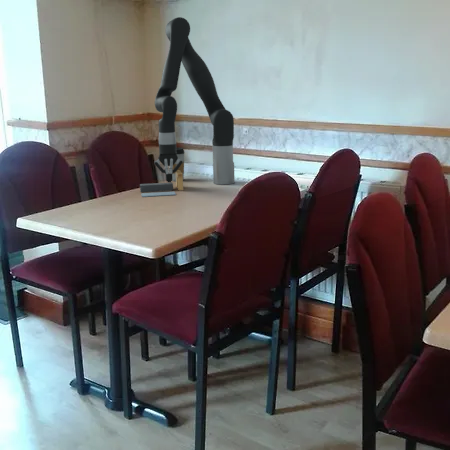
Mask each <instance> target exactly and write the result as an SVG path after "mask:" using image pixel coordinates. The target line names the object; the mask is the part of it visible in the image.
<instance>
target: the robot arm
mask: <svg viewBox="0 0 450 450" xmlns="http://www.w3.org/2000/svg"><path fill="white" fill-rule="evenodd" d="M190 33H191V25H190V23H189V21H188V20H187V19H185V18H184V17H182V16H181V17H175V18H173V19H172V20H170V21H168V22H167V24H166V26H165V35H166V38H167V39H168V40H169V49H168V51H167V52H168V53H167V57H166V59H165V61H164V65H163V68H162V69H163V70H162V74H161V75H162V76H161V81H160V85H159V88H158V91H157V93H156V95H155V99H154V107H155V110H156V111H158V112H159V113H162V116H161V118H160V119H159V120H158V151H159V152H158V153H159V154H158V159H157V160H154V161H153V162H154V165H155V166H156V167H157V169H158V170H159V171H160V172H161V173H162V174H165V181H166V182H167V183H171V182H173V181H172V180H173V179H172V174H173V173H174V172H176V171H177V170H178V168H179V167H180V166H181V164H182V163H183V162H182V160H180V159H178V156H177V152H176V148H177V136H176V117H177V113H178V102H177V100H176V98H175V97H173V96H172V93H173V92H175V91H176V90H177V89H178V84H179V76H180V70H181V65H182V67H184V69H185V71H186V73H187V77H188V78H189V81H190V82H191V85H192V86H193V88H194V90H195V91H196V93H197V95H198V97H199V99H200V100H201V102H202V103H203V105H204V107H205V109H206V112H207V115H208V117H209V120H210V123H211V124H212V127H213V128H212V129H213V131H212V132H213V134H212V135H213V136H212V141H211V142H212V143H211V145H212V147H211V148H212V173H213V174H212V175H213V176H212V177H213V178H212V179H213V184H216V185H230V184H235V162H234V135H235V134H234V133H235V127H234V126H235V122H234V116H233V114H232V113H231V111H230V110H228V109H226V108H225V106H224V105H223V101H221V99H220V97H219V95H218V91H217V88H216V87H217V86H216V84H215V81H214V78H213V76H212V73H211V71H210V69H209V67H208V65H207V63H206V62H205V61H204V60H203V58H202V57H201V55H199V54H198V53H197V51H196V50H195V48H194V47H193V45H192V43H191V41H190V39H189V37H190ZM176 161H177V165H176V166H175V168H174V169H173V165H174V164H175V162H176ZM161 164H162V166H163V167H164V168H163V167H162V166H161ZM172 169H173V170H172Z"/></svg>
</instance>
